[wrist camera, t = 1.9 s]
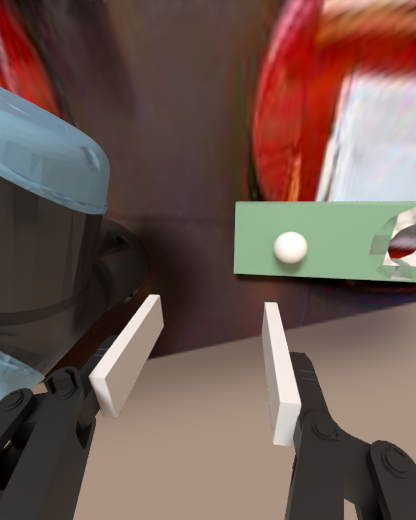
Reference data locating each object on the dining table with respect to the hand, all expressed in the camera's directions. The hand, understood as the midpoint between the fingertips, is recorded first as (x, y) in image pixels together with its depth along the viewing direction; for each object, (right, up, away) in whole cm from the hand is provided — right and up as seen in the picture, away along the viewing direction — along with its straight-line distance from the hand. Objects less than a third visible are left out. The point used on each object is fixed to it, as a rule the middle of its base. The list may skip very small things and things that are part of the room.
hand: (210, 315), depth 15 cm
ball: (+10, +5, +12) cm, 17 cm away
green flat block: (+18, +7, +15) cm, 24 cm away
